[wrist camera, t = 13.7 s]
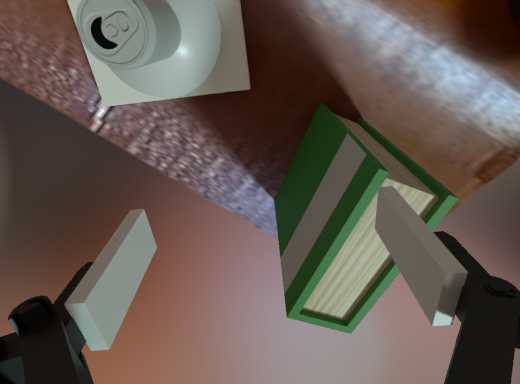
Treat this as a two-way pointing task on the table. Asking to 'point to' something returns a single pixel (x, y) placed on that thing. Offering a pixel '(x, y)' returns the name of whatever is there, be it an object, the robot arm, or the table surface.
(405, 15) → the table surface
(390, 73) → the table surface
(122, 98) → the kitchen scale
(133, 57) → the beverage can
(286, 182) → the hardback book
